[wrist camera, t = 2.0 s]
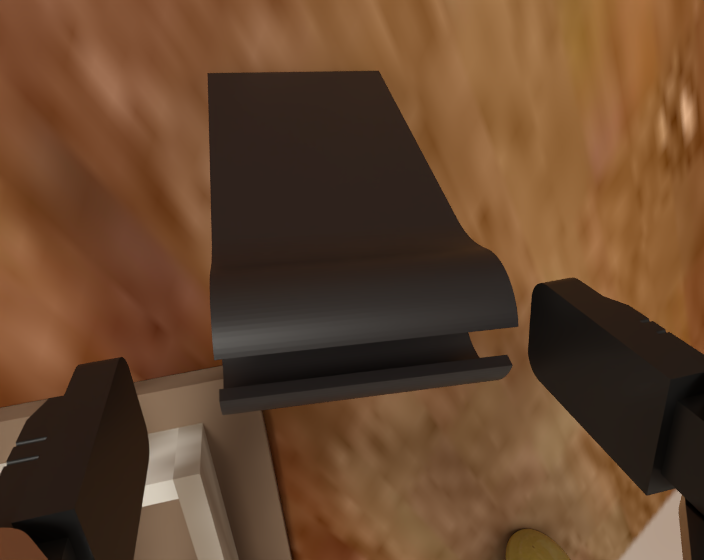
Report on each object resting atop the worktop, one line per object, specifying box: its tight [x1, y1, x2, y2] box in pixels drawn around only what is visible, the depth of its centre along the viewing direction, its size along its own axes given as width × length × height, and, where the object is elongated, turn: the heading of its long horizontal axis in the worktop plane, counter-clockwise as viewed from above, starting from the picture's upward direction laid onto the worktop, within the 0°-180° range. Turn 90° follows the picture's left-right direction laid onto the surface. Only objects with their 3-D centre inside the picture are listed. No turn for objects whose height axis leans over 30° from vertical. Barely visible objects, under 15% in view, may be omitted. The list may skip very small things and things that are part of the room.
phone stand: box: [208, 71, 518, 415], centre depth 16 cm, size 9×6×12 cm, turn 179°
